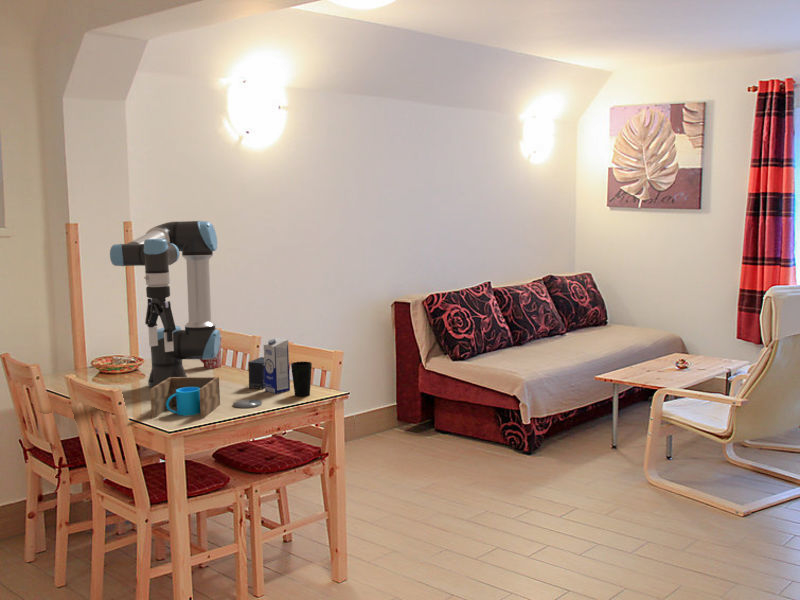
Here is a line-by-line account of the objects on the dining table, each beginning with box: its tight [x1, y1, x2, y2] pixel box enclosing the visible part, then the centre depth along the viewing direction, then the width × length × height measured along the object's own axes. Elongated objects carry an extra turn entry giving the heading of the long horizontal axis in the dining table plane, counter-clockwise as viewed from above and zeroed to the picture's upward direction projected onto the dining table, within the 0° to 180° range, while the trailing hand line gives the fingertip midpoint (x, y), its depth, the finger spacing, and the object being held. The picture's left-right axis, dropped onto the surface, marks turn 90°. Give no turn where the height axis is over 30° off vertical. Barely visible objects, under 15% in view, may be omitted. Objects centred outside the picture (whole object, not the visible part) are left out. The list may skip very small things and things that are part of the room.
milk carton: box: [263, 337, 291, 395], centre depth 305 cm, size 7×7×20 cm
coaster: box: [232, 399, 263, 409], centre depth 286 cm, size 10×10×1 cm
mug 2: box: [198, 335, 223, 369], centre depth 352 cm, size 13×9×14 cm
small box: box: [247, 356, 265, 390], centre depth 315 cm, size 11×6×10 cm, turn 161°
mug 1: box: [166, 387, 201, 417], centre depth 276 cm, size 12×8×8 cm
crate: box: [149, 376, 221, 419], centre depth 278 cm, size 18×18×10 cm
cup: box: [290, 361, 313, 398], centre depth 298 cm, size 8×8×12 cm
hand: (161, 348), depth 269 cm, fingers open, 13 cm apart
